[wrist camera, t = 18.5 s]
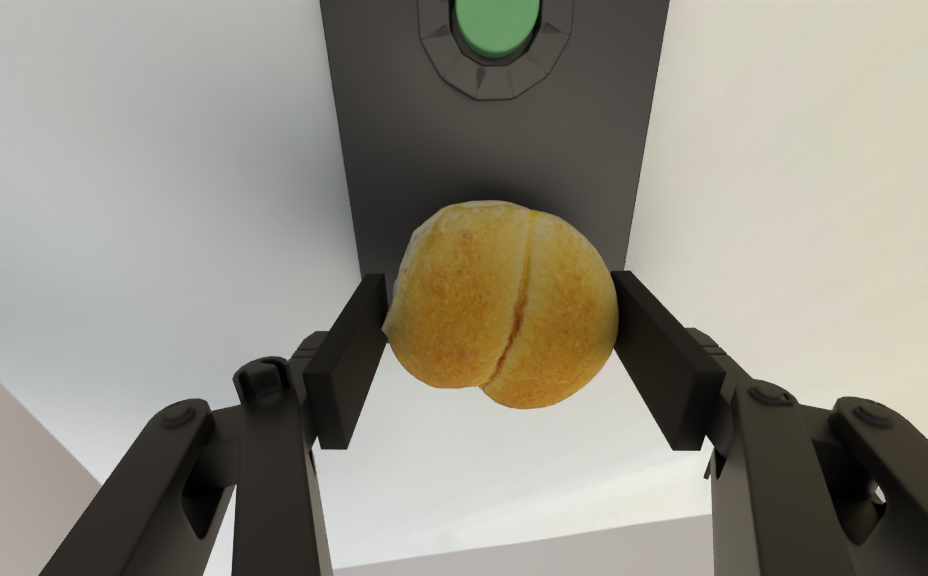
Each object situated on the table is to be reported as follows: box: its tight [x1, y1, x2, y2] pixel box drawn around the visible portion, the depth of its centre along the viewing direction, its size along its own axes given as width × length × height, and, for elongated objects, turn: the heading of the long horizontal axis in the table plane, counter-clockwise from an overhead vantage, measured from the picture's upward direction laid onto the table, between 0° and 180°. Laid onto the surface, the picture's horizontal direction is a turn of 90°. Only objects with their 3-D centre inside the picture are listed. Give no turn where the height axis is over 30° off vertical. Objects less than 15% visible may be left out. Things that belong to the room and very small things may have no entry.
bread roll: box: [381, 200, 619, 409], centre depth 14 cm, size 8×9×4 cm
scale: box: [320, 0, 670, 343], centre depth 18 cm, size 18×14×3 cm
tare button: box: [455, 0, 539, 58], centre depth 13 cm, size 3×3×2 cm
